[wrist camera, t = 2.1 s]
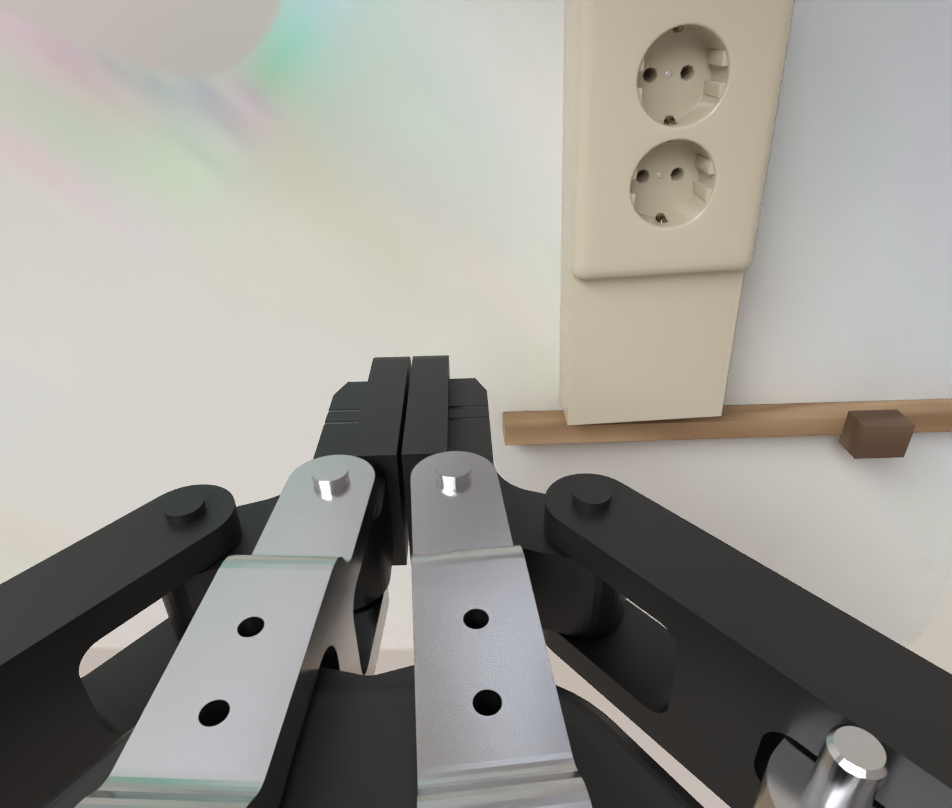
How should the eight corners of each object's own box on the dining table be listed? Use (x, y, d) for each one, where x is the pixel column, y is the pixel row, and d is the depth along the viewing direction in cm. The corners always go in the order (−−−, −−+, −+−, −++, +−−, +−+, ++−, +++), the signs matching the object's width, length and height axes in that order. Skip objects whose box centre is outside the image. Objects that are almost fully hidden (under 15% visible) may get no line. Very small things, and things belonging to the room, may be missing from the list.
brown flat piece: (506, -161, 22) (513, -186, 19) (1206, -171, 23) (1304, -196, 20) (502, 435, 34) (507, 469, 31) (960, 421, 34) (1001, 454, 32)
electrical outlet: (570, 436, 30) (582, -42, 21) (558, 392, 33) (563, -32, 24) (728, 426, 30) (808, -55, 21) (699, 383, 33) (757, -44, 24)
